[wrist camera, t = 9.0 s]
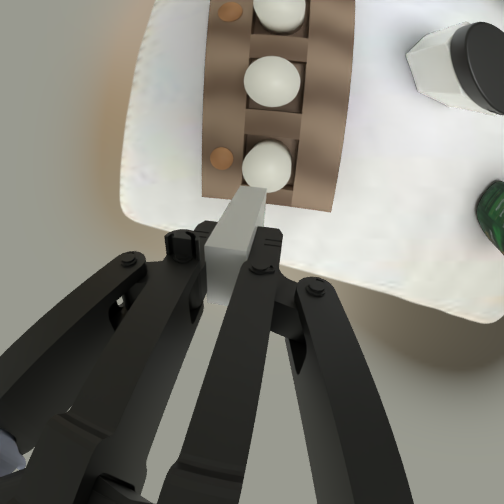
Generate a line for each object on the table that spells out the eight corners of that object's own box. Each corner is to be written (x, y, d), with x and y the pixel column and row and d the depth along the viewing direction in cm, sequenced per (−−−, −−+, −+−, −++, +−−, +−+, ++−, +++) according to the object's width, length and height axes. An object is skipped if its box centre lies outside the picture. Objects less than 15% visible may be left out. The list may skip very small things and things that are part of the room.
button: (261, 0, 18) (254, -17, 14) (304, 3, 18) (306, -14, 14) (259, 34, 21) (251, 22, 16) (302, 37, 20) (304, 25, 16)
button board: (220, -11, 18) (212, -21, 16) (349, -2, 17) (355, -12, 14) (209, 188, 32) (201, 197, 29) (328, 202, 30) (331, 213, 28)
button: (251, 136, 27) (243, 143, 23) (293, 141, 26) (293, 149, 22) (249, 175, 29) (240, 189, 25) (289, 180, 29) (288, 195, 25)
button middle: (254, 62, 21) (245, 54, 17) (300, 66, 21) (302, 58, 17) (251, 104, 24) (242, 105, 19) (297, 108, 23) (297, 109, 19)
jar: (439, 119, 22) (502, 138, 12) (392, 65, 20) (446, 51, 10) (475, 78, 18) (540, 85, 8) (433, 26, 16) (490, 6, 6)
